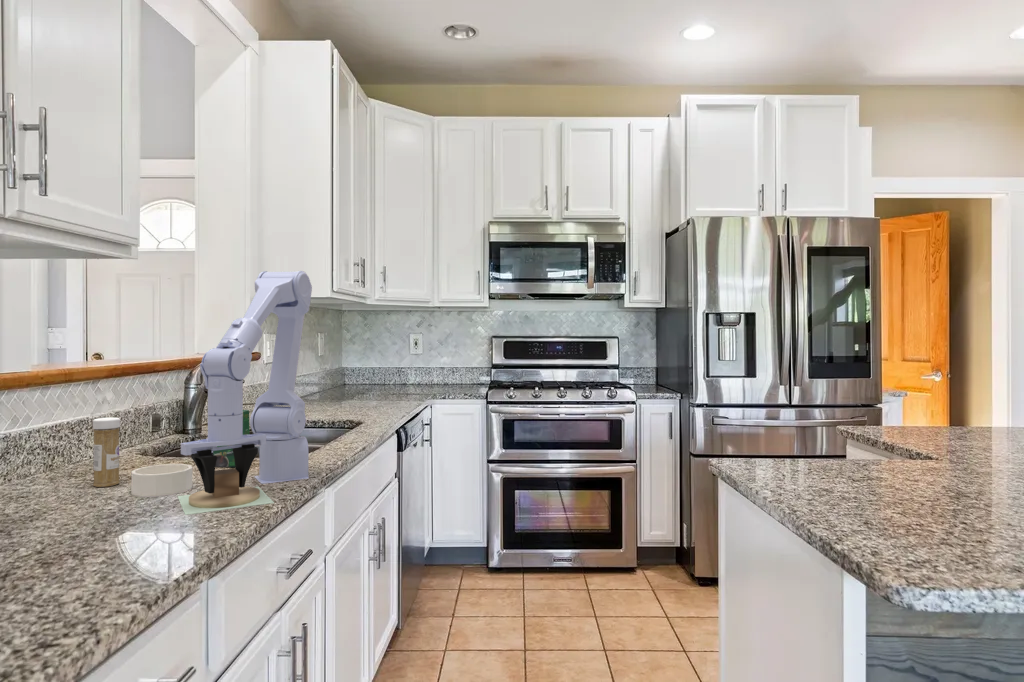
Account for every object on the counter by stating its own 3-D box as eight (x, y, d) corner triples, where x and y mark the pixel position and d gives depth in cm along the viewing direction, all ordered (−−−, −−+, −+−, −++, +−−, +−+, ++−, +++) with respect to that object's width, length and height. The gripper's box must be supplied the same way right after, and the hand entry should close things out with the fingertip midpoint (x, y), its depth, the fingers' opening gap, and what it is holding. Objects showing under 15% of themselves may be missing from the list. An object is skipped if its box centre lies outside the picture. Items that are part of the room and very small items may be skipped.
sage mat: (258, 489, 120) (258, 486, 120) (274, 505, 108) (274, 502, 108) (177, 499, 112) (177, 496, 112) (185, 518, 100) (185, 514, 100)
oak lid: (252, 488, 118) (253, 462, 118) (265, 501, 108) (265, 473, 108) (185, 496, 111) (185, 469, 111) (192, 511, 102) (192, 482, 102)
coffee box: (210, 467, 140) (211, 410, 140) (218, 464, 143) (219, 408, 143) (243, 468, 139) (243, 411, 139) (250, 465, 142) (250, 409, 141)
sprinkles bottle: (119, 485, 122) (120, 418, 122) (92, 488, 119) (92, 420, 119) (119, 481, 126) (119, 416, 126) (92, 484, 123) (93, 417, 123)
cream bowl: (188, 484, 124) (188, 462, 123) (194, 494, 115) (194, 471, 115) (130, 490, 118) (130, 467, 118) (132, 502, 110) (132, 477, 110)
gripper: (252, 409, 118) (252, 478, 118) (173, 416, 107) (173, 493, 107) (271, 412, 113) (271, 484, 114) (191, 419, 102) (190, 500, 102)
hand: (225, 489), depth 110 cm, fingers closed on oak lid, 5 cm apart
